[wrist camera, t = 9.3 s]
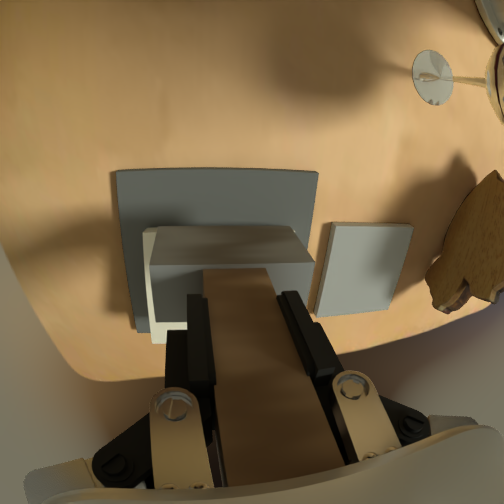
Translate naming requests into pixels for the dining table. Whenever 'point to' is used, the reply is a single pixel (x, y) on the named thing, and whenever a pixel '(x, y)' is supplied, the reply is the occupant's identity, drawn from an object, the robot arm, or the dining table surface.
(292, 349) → the brown grey t-shaped piece
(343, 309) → the pad
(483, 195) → the wooden carving
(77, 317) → the dining table surface
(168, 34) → the dining table surface
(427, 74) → the wineglass
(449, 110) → the dining table surface
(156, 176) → the rubber mat
